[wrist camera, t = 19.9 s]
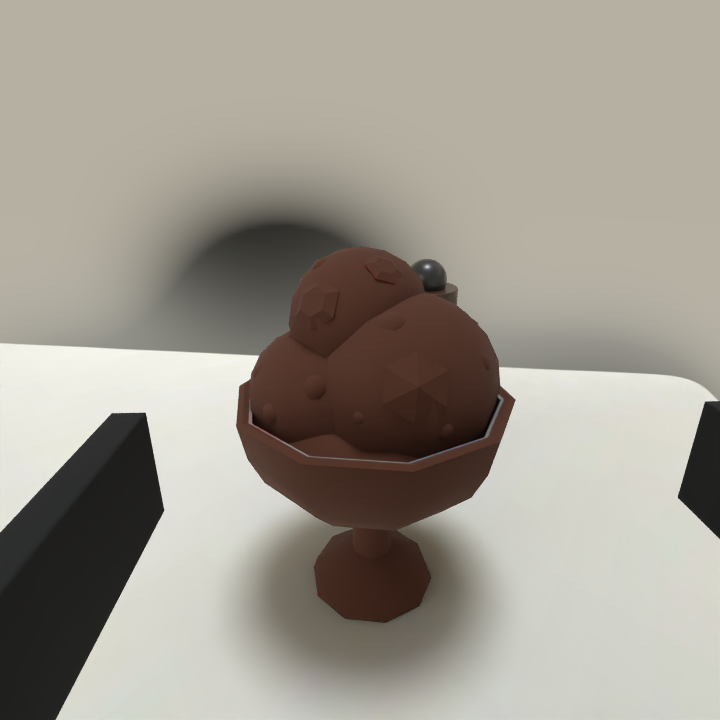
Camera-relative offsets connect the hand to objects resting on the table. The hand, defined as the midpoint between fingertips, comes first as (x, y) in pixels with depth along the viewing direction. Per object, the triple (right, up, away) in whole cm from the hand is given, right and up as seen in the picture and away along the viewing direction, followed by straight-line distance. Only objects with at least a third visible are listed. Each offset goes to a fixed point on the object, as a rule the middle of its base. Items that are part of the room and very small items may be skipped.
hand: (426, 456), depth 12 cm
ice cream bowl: (-1, -8, +11) cm, 14 cm away
